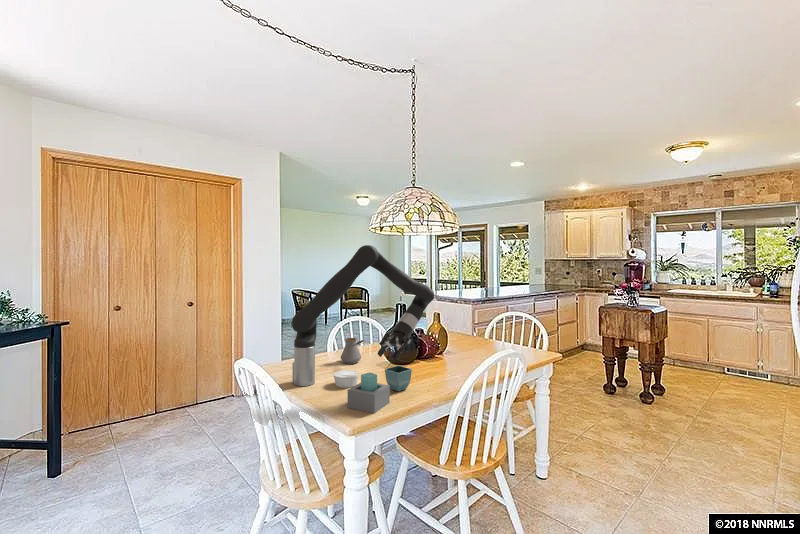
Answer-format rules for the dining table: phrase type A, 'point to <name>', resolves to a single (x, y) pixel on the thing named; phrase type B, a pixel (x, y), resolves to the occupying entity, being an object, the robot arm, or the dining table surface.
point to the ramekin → (346, 378)
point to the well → (368, 398)
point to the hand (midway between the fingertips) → (385, 357)
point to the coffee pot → (351, 351)
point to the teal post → (369, 382)
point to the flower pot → (398, 377)
